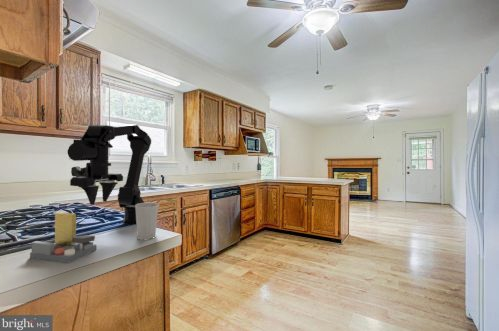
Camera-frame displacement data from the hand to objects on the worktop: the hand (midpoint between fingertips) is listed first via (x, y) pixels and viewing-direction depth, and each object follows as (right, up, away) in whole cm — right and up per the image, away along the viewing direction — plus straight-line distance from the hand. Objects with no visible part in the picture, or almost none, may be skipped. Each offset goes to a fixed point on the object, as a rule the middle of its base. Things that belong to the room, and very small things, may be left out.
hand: (98, 202), depth 89 cm
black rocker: (+4, -9, -14) cm, 17 cm away
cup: (+17, -13, +1) cm, 21 cm away
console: (-1, -13, -15) cm, 20 cm away
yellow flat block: (-3, -11, -12) cm, 17 cm away
